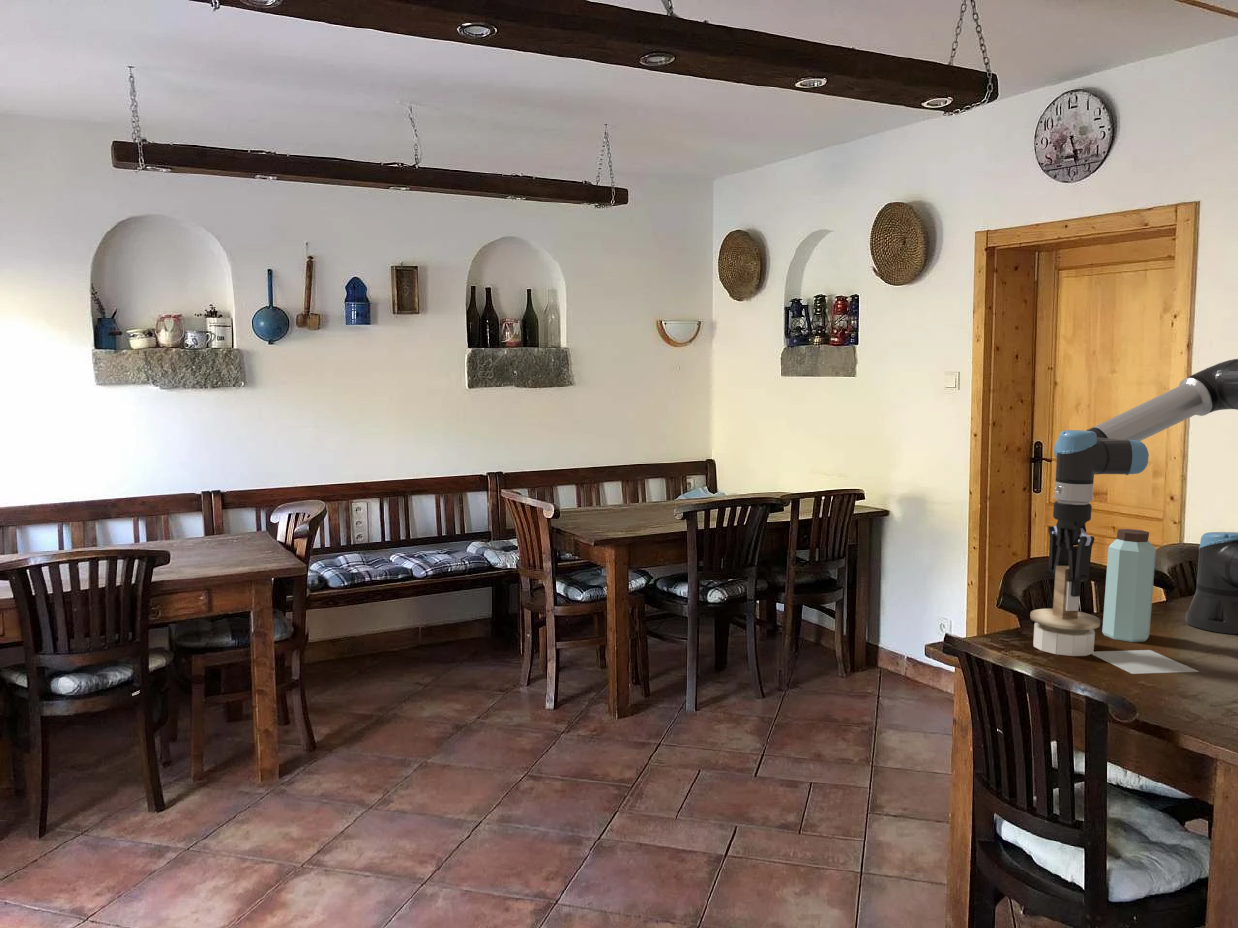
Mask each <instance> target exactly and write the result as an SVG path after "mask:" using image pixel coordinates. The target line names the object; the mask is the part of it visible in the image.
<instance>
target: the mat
mask: <svg viewBox="0 0 1238 928" xmlns="http://www.w3.org/2000/svg"><path fill="white" fill-rule="evenodd" d="M1091 655H1092V656H1094V657H1096V658H1098V659H1101V660H1103V661H1105V662H1107V663H1109V664H1111V665H1113V666H1115V667H1117V668H1119V669H1121V670H1122V671H1126V672H1127V673H1129V674H1132V675H1138V674H1139V675H1140V674H1141V675H1142V674H1143V675H1144V674H1171V673H1174V674H1175V673H1199V672H1200V671H1199V670H1196V669H1195V668H1192V667H1190V666H1188V665H1186V664H1183V663H1181V662H1179V661H1176V660H1174V659H1171V658H1169V657H1167V656H1165V655H1163V654H1161V653H1158V652H1156V651H1155V650H1151V649H1138V650H1136V649H1134V650H1133V649H1132V650H1107V651H1106V650H1102V651H1094V653H1092V654H1091Z"/></svg>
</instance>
